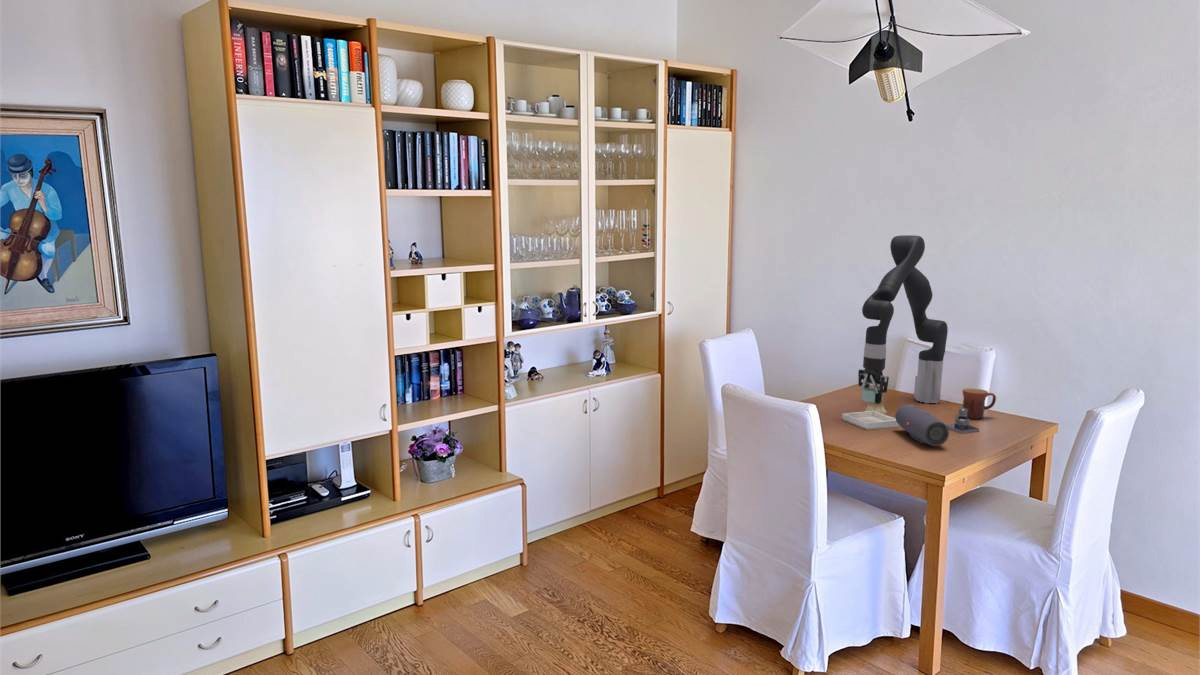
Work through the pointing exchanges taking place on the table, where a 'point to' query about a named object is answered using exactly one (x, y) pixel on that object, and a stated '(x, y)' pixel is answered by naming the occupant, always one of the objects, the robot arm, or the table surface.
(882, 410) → the hand bell
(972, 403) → the mug
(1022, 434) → the table surface
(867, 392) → the ring
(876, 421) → the tray
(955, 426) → the stand
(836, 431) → the table surface
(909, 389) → the table surface
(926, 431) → the bluetooth speaker
